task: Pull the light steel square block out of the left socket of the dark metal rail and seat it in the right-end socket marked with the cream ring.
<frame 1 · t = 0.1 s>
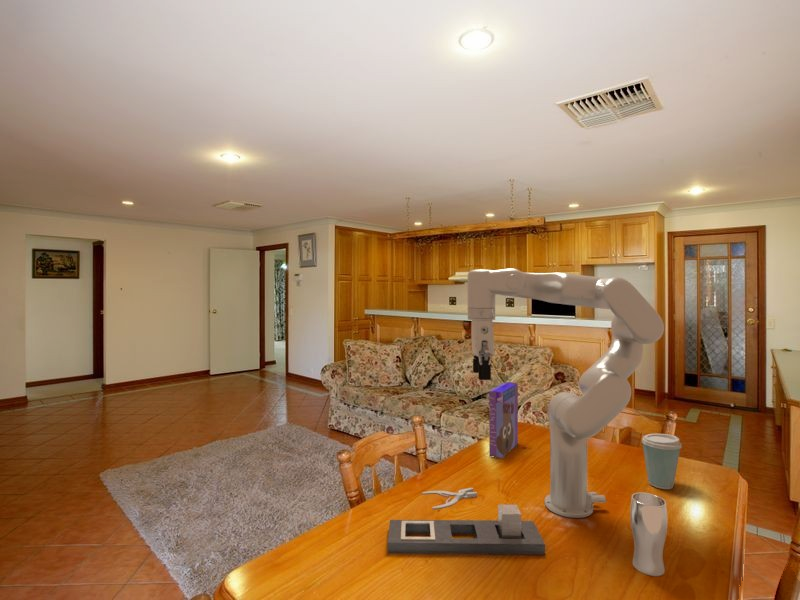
hand: (481, 376, 120), 37 cm above the table, tool pointing down, fingers open, 9 cm apart
beer glass: (648, 568, 95), on the table
rail: (463, 541, 105), on the table
disposable coffee cup: (660, 485, 134), on the table
pliers: (451, 499, 127), on the table
cereal box: (504, 450, 164), on the table
steel block: (509, 542, 104), resting in rail
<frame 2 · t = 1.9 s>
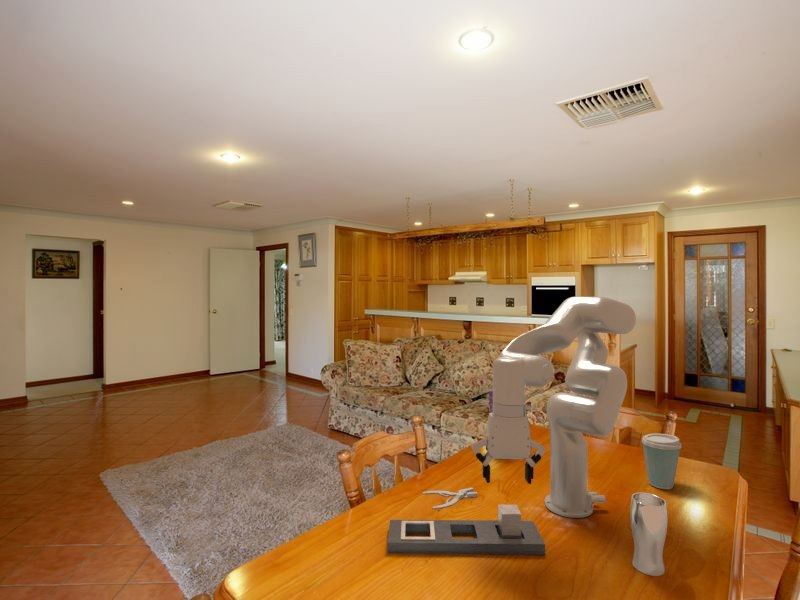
hand: (507, 481, 104), 15 cm above the table, tool pointing down, fingers open, 9 cm apart
nothing on the table moved.
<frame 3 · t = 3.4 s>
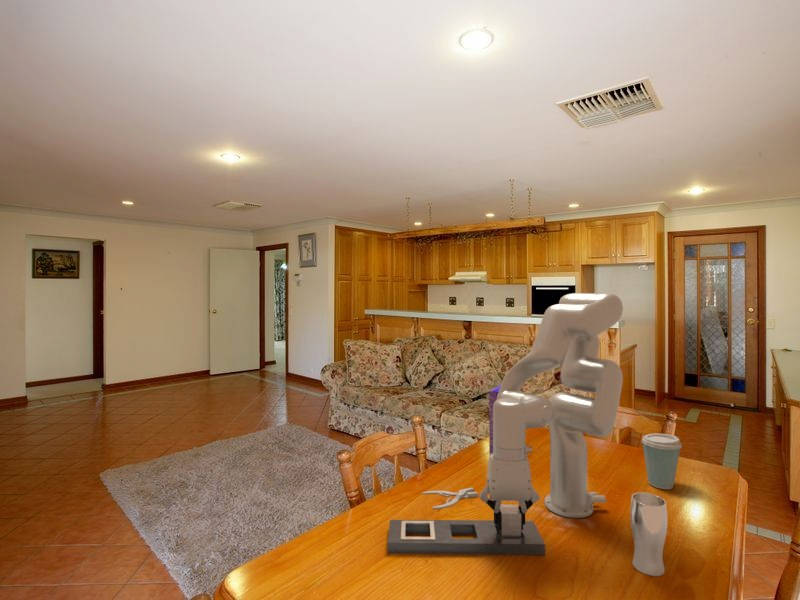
hand: (509, 526, 104), 4 cm above the table, tool pointing down, fingers closed on steel block, 4 cm apart
steel block: (509, 542, 104), resting in rail, touching gripper
everything else where it was.
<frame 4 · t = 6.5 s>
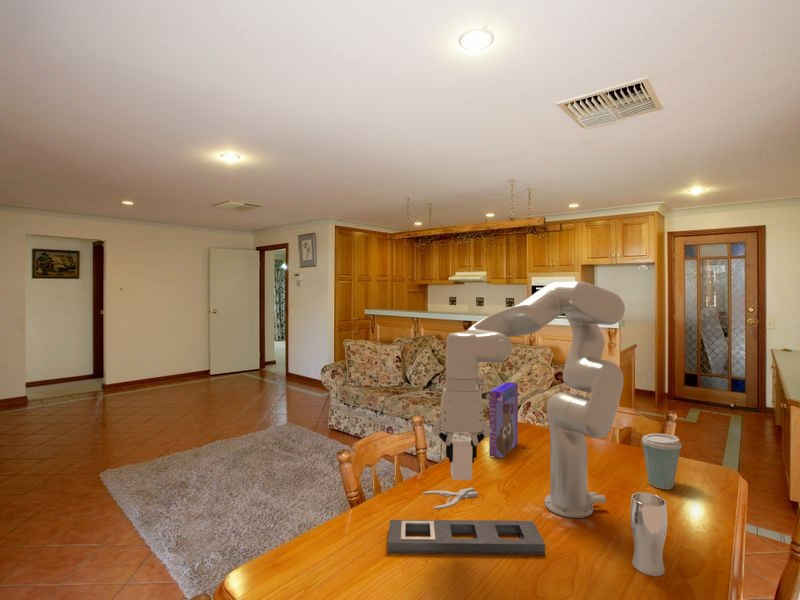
hand: (461, 459, 104), 20 cm above the table, tool pointing down, fingers closed on steel block, 4 cm apart
steel block: (461, 475, 104), point 16 cm above the table, touching gripper
everything else where it was.
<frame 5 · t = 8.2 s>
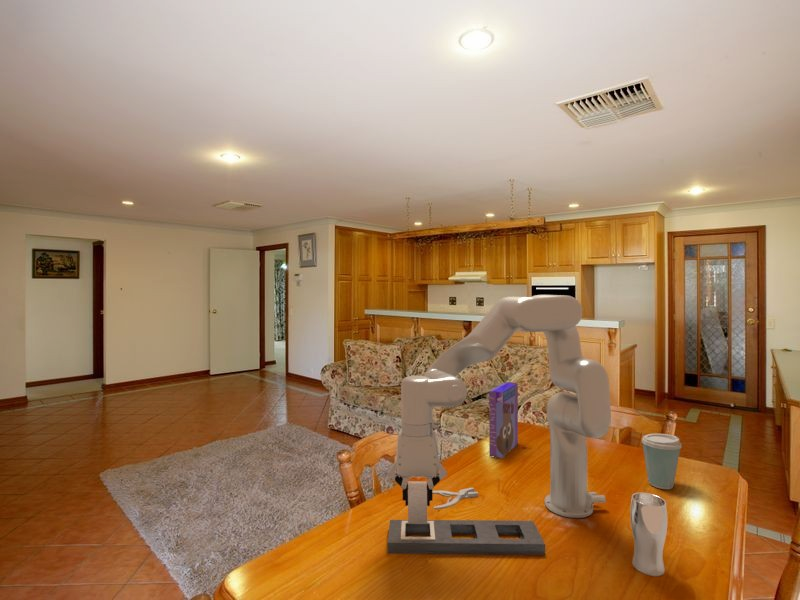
hand: (417, 502, 105), 9 cm above the table, tool pointing down, fingers closed on steel block, 4 cm apart
steel block: (417, 518, 105), point 6 cm above the table, touching gripper
everything else where it was.
when the fingers open (5 cm above the table, at t = 9.6 s): steel block stays where it is, resting in rail.
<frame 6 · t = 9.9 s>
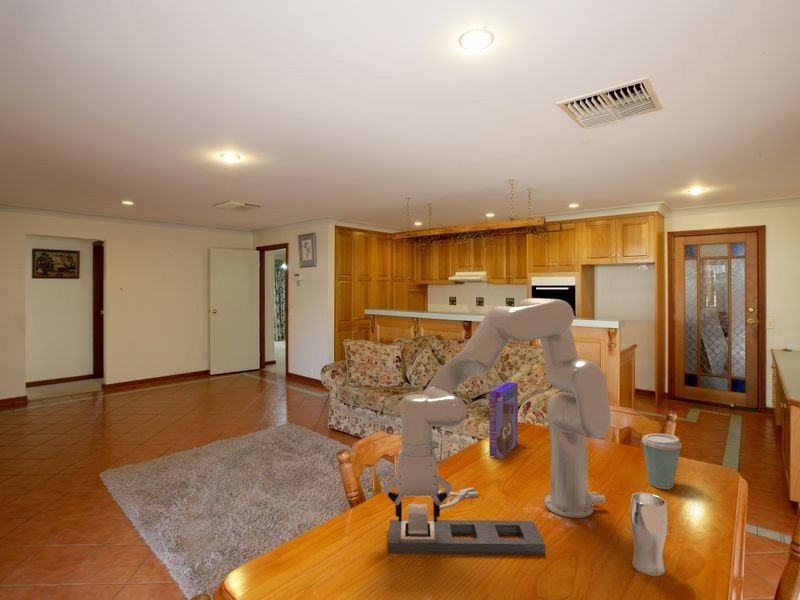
hand: (417, 518, 105), 5 cm above the table, tool pointing down, fingers open, 8 cm apart
steel block: (418, 541, 105), resting in rail
everything else where it was.
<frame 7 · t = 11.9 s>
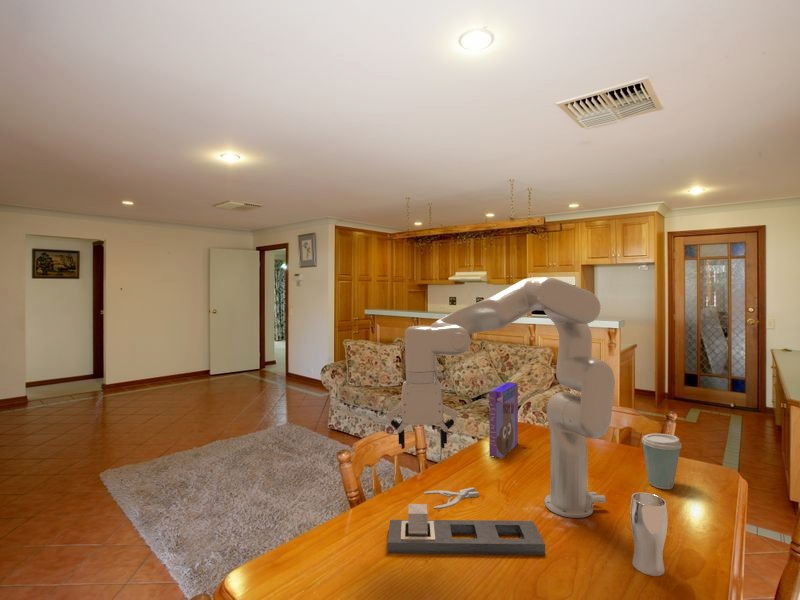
hand: (422, 446, 106), 23 cm above the table, tool pointing down, fingers open, 9 cm apart
nothing on the table moved.
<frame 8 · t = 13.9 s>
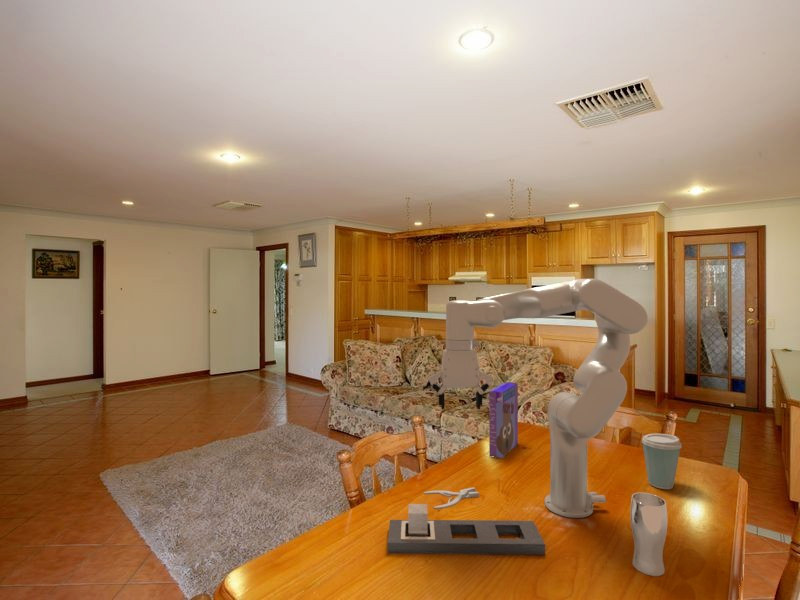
hand: (460, 407, 119), 28 cm above the table, tool pointing down, fingers open, 9 cm apart
nothing on the table moved.
at the end: steel block 0.1 cm from the target spot on the rail, point 0.0 cm above the rail's base; steel block tilted 0°; the gripper is holding nothing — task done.
